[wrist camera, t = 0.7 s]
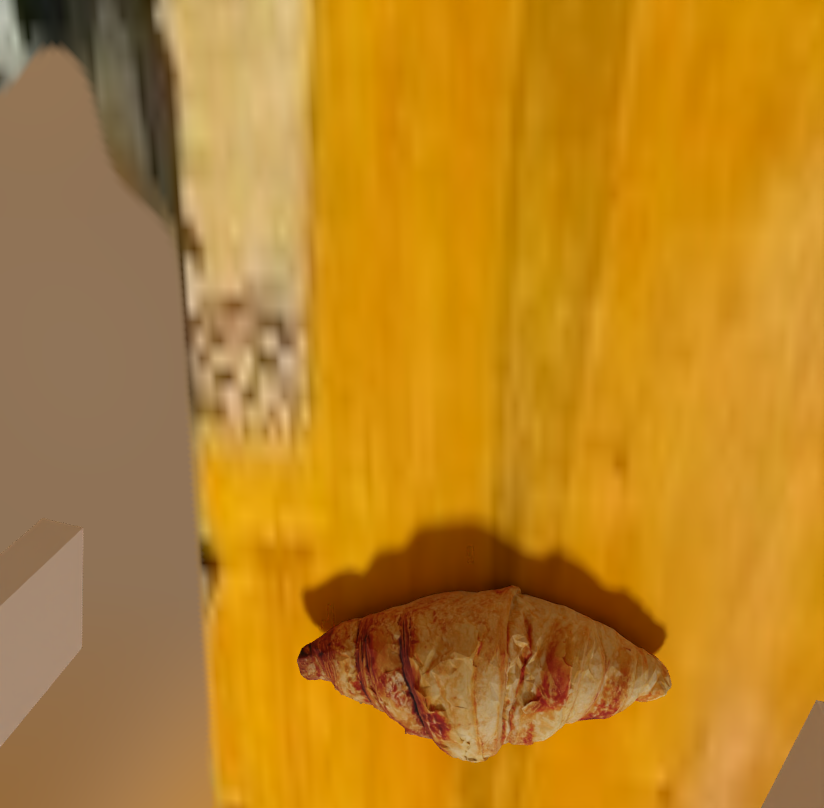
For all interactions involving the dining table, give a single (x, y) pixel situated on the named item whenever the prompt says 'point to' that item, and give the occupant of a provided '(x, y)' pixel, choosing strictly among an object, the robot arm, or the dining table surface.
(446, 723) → the croissant
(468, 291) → the dining table surface
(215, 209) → the dining table surface
